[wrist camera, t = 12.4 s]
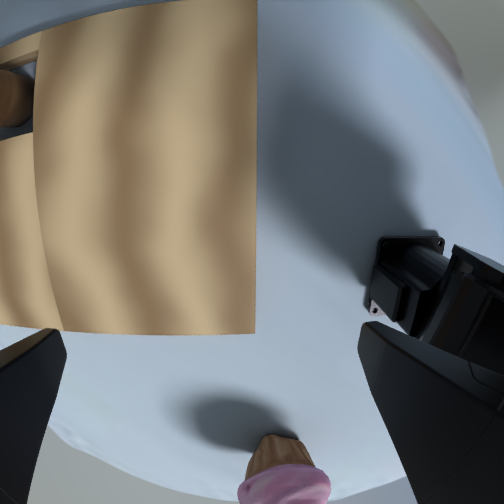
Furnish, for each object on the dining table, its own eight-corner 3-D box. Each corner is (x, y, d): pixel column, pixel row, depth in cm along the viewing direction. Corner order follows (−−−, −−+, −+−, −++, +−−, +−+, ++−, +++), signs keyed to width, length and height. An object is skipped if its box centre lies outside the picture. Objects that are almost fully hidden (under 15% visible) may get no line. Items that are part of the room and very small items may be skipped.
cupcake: (330, 430, 29) (356, 504, 19) (286, 469, 31) (300, 535, 21) (259, 414, 27) (273, 503, 17) (220, 456, 29) (223, 532, 19)
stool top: (253, 11, 16) (257, -1, 14) (252, 318, 23) (255, 333, 21) (-14, 65, 14) (-28, 62, 12) (9, 313, 21) (-2, 323, 19)
